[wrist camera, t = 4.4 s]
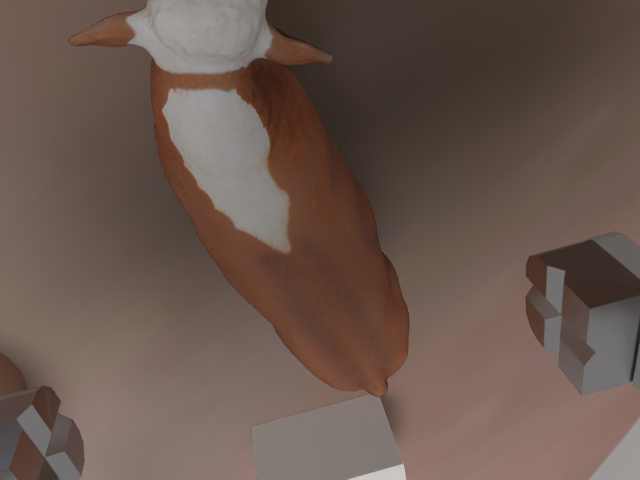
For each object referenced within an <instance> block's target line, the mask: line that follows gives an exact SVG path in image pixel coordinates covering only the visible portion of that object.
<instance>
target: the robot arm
mask: <svg viewBox="0 0 640 480" xmlns="http://www.w3.org/2000/svg"><path fill="white" fill-rule="evenodd" d="M526 276H527V278H528V279H529V280H530V281H531V282H532V283H533V284H534V285H533V287H532V288H531V289H530V291H529V292H528V294H527V295H526V313H527V317H528V320H529V324H530V327H531V329H532V331H533V333H534V335H535V336H536V338H537V339H538V341H539V342H540V343H541V345H542V346H543V347H544V348H545V349H547V350H550V351H552V352H555V353H557V354H559V366H558V367H559V368H560V369H561V370H562V372H563V373H564V374H565V375H566V377H567V378H568V379H569V380H570V382H571V383H572V384H573V385H574V387H575V388H576V389H577V390H578V392H579V393H580V394H581V395H586V394H590V393H594V392H598V391H602V390H606V389H610V388H614V387H618V386H622V385H625V384H629V383H633V386H635V387H636V388H638V389H640V246H639V245H637V244H636V243H635V242H633V241H632V240H631V239H629V238H628V237H627V236H625V235H624V234H622V233H619V232H615V231H614V232H610V233H607V234H604V235H600V236H597V237H593V238H590V239H586V240H585V241H582V242H578V243H575V244H571V245H568V246H564V247H560V248H557V249H553V250H549V251H546V252H542V253H538V254H535V255H531V256H529V258H528V261H527V263H526ZM60 402H61V401H60V399H59V398H58V396H57V395H56V394H55V392H54V391H53V389H52V388H51V387H46V386H40V387H36V388H32V389H27V390H23V391H19V392H15V393H11V394H7V395H3V396H0V480H79V479H80V478H81V476H82V471H83V465H84V445H83V440H82V437H81V434H80V431H79V429H78V427H77V426H76V424H75V423H74V421H73V419H70V418H68V417H66V416H63V415H61V414H59V413H58V409H59V406H60Z"/></svg>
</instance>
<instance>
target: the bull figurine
mask: <svg viewBox="0 0 640 480" xmlns="http://www.w3.org/2000/svg"><path fill="white" fill-rule="evenodd" d="M267 2H268V0H147V6H146V7H145V8H144V9H143V10H141V11H134V12H126V13H118V14H115V15H112V16H110V17H107V18H105V19H103V20H102V21H100V22H98V23H96V24H95V25H93V26H91V27H89V28H88V29H86V30H84V31H82V32H80V33H78V34H75V35H73V36H72V37H70V38H69V39H68V43H70V44H71V45H73V46H85V45H98V46H108V47H121V46H126V45H132V44H133V45H137V46H141V47H143V48H145V49H146V50H147V51H148V52H149V53H150V54H151V56H152V57H153V58H152V63H151V100H152V107H153V114H154V119H155V124H154V129H155V138H156V143H157V148H158V153H159V156H160V160H161V163H162V167H163V170H164V173H165V176H166V178H167V180H168V182H169V184H170V186H171V187H172V189H173V191H174V193H175V194H176V196H177V197H178V199H179V201H180V202H181V204H182V205H183V207H184V208H185V209H186V211H187V212H188V214H189V216H190V219H191V221H192V223H193V226H194V228H195V230H196V233H197V235H198V237H199V238H200V240H201V242H202V244H203V245H204V247H205V248H206V249H207V251H208V252H209V254H210V255H211V257H212V258H213V259H214V261H215V262H216V264H217V265H218V267H219V268H220V270H221V272H222V273H223V275H224V276H225V278H226V279H227V280H228V282H229V283H230V284H231V285H232V286H233V287H234V288H235V289H236V290H237V292H238V293H239V294H240V295H241V296H242V297H243V298H244V299H245V300H246V301H248V302H249V303H250V304H251V305H252V306H253V307H254V308H255V309H256V310H257V311H258V312H260V313H261V314H262V315H263V316H264V317H265V318H266V319H267V320H268V321H269V322H270V323H272V324H273V326H274V329H275V331H276V333H277V334H278V336H279V337H280V339H281V340H282V342H283V343H284V344H285V346H286V347H287V348H288V349H289V350H290V351H291V353H292V354H293V355H294V356H295V357H296V358H297V359H298V360H299V361H300V362H301V363H302V364H303V365H304V366H305V367H306V368H307V369H308V370H309V371H310V372H311V373H312V374H313V375H315V376H316V377H317V378H319V379H320V380H322V381H323V382H324V383H326V384H328V385H329V386H331V387H333V388H335V389H338V390H342V391H358V390H362V389H364V390H365V391H367V392H368V393H369V394H371V395H373V396H375V397H381V396H383V395H385V394H386V392H387V390H388V383H387V379H388V378H389V377H390V376H392V375H393V374H394V373H395V372H396V371H398V370H399V368H400V367H401V366H402V365H403V364H404V362H405V360H406V358H407V355H408V336H409V313H408V309H407V306H406V303H405V301H404V299H403V296H402V292H401V288H400V284H399V281H398V277H397V274H396V271H395V269H394V267H393V265H392V263H391V262H390V260H389V259H388V257H387V256H386V255H385V254H384V253H383V252H382V251H381V248H380V245H379V240H378V235H377V228H376V222H375V217H374V213H373V210H372V207H371V205H370V202H369V200H368V198H367V196H366V194H365V192H364V190H363V189H362V187H361V185H360V184H359V183H358V181H357V180H356V178H355V177H354V176H353V174H352V173H351V172H350V170H349V169H348V167H347V165H346V163H345V162H344V160H343V158H342V156H341V154H340V152H339V150H338V149H337V147H336V145H335V143H334V141H333V140H332V138H331V136H330V135H329V133H328V132H327V130H326V129H325V127H324V125H323V123H322V121H321V119H320V116H319V114H318V112H317V110H316V108H315V106H314V105H313V103H312V101H311V100H310V98H309V96H308V95H307V93H306V92H305V90H304V89H303V87H302V86H301V84H300V83H299V81H298V80H297V78H296V77H295V76H294V75H293V74H292V73H291V71H290V70H289V69H287V68H286V67H285V66H284V65H300V64H307V63H319V64H329V63H331V62H332V60H333V58H332V56H331V55H330V54H329V53H328V52H325V51H323V50H321V49H319V48H317V47H315V46H313V45H311V44H309V43H307V42H304V41H302V40H299V39H296V38H293V37H291V36H288V35H286V34H285V33H284V32H282V31H281V30H279V29H277V28H275V27H273V26H272V25H271V24H270V23H269V22H268V21H267V20H266V17H265V11H266V7H267Z"/></svg>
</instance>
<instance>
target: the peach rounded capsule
mask: <svg viewBox="0 0 640 480" xmlns="http://www.w3.org/2000/svg"><path fill="white" fill-rule="evenodd" d="M23 390H26V386H25V381H24V379H23V376H22V375H21V373H20V371H19V370H18V368H17V367H16V366H15V365H14V364H13V363H12V362H11V361H10V360H9V359H8V358H6V357H5V356H4V355H2V354H1V353H0V396H3V395H7V394H11V393H15V392H19V391H23Z"/></svg>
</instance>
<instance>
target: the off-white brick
mask: <svg viewBox="0 0 640 480" xmlns="http://www.w3.org/2000/svg"><path fill="white" fill-rule="evenodd" d="M251 430H252V442H253V454H254V466H255V478H256V480H406V476H405V470H404V464H403V461H402V458H401V456H400V453H399V450H398V447H397V444H396V442H395V439H394V436H393V433H392V430H391V427H390V425H389V422H388V419H387V416H386V413H385V410H384V408H383V405H382V402H381V399H380V397H375V396H373V395H371V394H369V395H365V396H362V397H358V398H354V399H351V400H347V401H343V402H340V403H336V404H333V405H329V406H325V407H322V408H318V409H314V410H311V411H307V412H304V413H300V414H296V415H293V416H289V417H285V418H282V419H278V420H275V421H271V422H267V423H264V424H260V425H256V426H253V427H251Z"/></svg>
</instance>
